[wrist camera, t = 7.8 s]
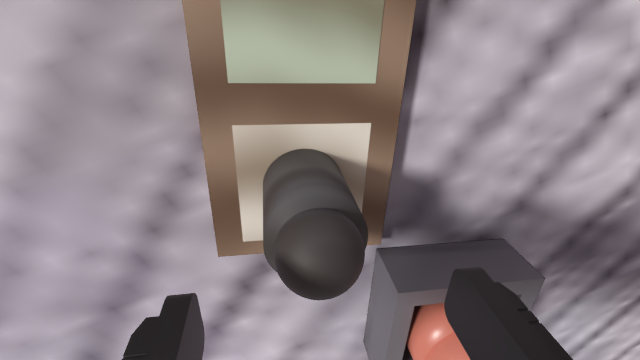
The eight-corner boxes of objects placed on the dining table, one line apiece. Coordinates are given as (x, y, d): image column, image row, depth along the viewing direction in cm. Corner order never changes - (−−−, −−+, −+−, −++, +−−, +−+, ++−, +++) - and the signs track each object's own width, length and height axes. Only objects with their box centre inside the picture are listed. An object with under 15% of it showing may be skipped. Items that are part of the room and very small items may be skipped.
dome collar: (471, 328, 28) (501, 373, 25) (363, 341, 27) (379, 392, 23) (503, 238, 24) (545, 278, 20) (376, 248, 22) (398, 293, 19)
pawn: (339, 217, 19) (379, 321, 13) (264, 221, 19) (266, 334, 12) (345, 147, 17) (395, 229, 11) (260, 149, 17) (260, 239, 10)
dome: (473, 341, 25) (530, 429, 20) (394, 352, 24) (432, 447, 19) (497, 279, 22) (570, 363, 17) (408, 288, 21) (457, 380, 16)
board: (375, 234, 22) (380, 244, 21) (220, 245, 20) (218, 257, 19) (424, -121, 13) (435, -130, 12) (166, -148, 12) (159, -161, 11)
